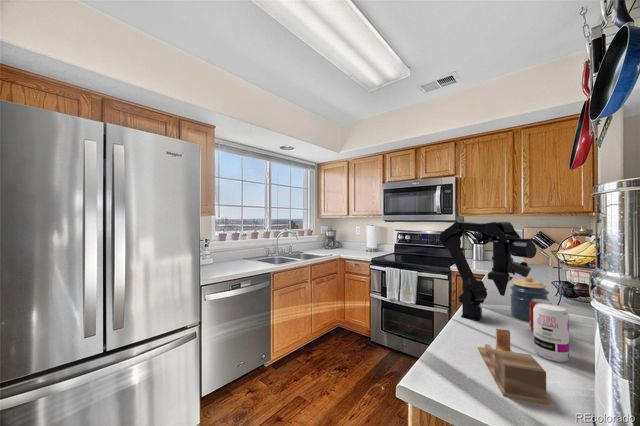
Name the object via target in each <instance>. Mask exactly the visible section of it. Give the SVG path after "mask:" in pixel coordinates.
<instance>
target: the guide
mask: <svg viewBox="0 0 640 426" xmlns="http://www.w3.org/2000/svg"><path fill="white" fill-rule="evenodd" d="M477 350H478V352H479V354H480V355H481V358H482V359H483V362H484V364H485V365H486V367H487V368H488V370H489V372H490V374H491V376H492V378H493V380H494V381H495V383H496V385H497V387H498V389H499V391H500V393H501V394H502V396H503V397H509V398H513V399H514V398H515V399H520V400H524V401H530V402H534V403H540V404H541V403H542V404H545V405H550V400H549V399H548V397H547V371H546V370H545V369H544V368H543V367H542V365H540V363H539V362H538V361H536V359H535V358H534V357H533V356H532V355H531V354H528V353H521V352H515V351H513V350H512V349H511V348H510V352H509V351H501V350H496V348H492V346H491V345H490V344H484V347H482V346H477Z"/></svg>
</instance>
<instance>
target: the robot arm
mask: <svg viewBox="0 0 640 426" xmlns="http://www.w3.org/2000/svg"><path fill="white" fill-rule="evenodd" d="M465 231H466V232H467V231H468V232H476V233H484V234H486V235H487V236H490V237H489V238H488V239H487V240H486V241H487V242H488V243H492V257H491V260H492V268H491V271H489V272H488V273H487V280H491V281H493V283H494V284H495V287H496V289H497V291H498V294H499V295H500V296H502V297H505V295H506V290H507V287H508V283H509V282H510V281H511V280H512V279H514V277H513V276H511V275H510V274H512V275H514V276H515V275H517V274H518V275H519V276H521V277H523V278H525V277H526V278H527V276H529V274H530V272H531V270H532V268H531V267H530V266H529V265H528V262H527V261H522V262H520V263H519V262H515V261H514V258H513V257H519V258H526V259H533V258H535V257H536V254H537V247H536V245H535V243H534V242H533V238H530V237H529V238H527V237H526V238H522V237H521V236H520V235H519V234H518V232H517V231H516V230H515V229H514V226H513V224H512V223H511V222H509V221H492V222H471V221H470V222H469V221H462V220H460V221H459V220H458V221H455V222H453V224H451V225H450V226H449V227H447V228H445V229H444V230H443V231H442V232H441V233H440V234H439V242H440V243H441V244H442V246H443V247H444V248H445V249H446V250H448V251H449V253H450V255H451V258H452V260H453V263H454V265H455V266H456V269H457V271H458V274H459V276H460V277H461V280H462V288H461V289H462V291H463V292H462V293H461V294H460V295H458V297H457V298H458V302H459V303H462V304H461V305H462V308H461V309H462V311H461V312H462V314H461V318H465V319H469V320H473V321H480V320H481V319H482V318H483V307H482V305H481V304H484V302H485V300H486V299H487V296H488V292H487V290H488V289H487V288H486V286H485V284H484V281H483V280H478V279H477V278H476V277H475V275H474V273H473V271H472V269H471V267H470V265H469V262H468V261H467V259H466V256H465V254H464V252H463V250H462V247H461V246H462V240H461V238H462V237H463V236H464V233H465Z"/></svg>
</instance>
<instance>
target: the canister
mask: <svg viewBox="0 0 640 426" xmlns="http://www.w3.org/2000/svg"><path fill="white" fill-rule="evenodd" d="M511 282H512V284H513V285H511V286H510V287H509V288H510V290H511V293H510V314H511V316H513V317H514V318H517V319H519V320H522V321H527V322H530V316H529V307H530V303H531V301H532V299H543V300H548V301H550V300H549V298H548V297H549V296H548V295H549V294H550V292H549V290H547V289H546V288H547V285H545V284H544V283H542V282H541V281H539V280H535V279H533V277H532V276H530V275H528V276H527V278H526V277H524V279H523V278H518V279H516V280H514V281H511Z"/></svg>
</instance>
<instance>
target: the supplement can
mask: <svg viewBox="0 0 640 426" xmlns="http://www.w3.org/2000/svg"><path fill="white" fill-rule="evenodd" d="M569 317H570V315H569V313H568V311H567V310H566V308H565V307H562V306H560V305H555V304H553V303H552V304H544V303H538V304H536V306H535V307H534V308H533V331H534V332H533V351H534V352H535V353H536V354H537V355H538V356H540V357H541V358H543V359H546V360H548V361H552V362H557V363H565V362H567V361H569V360H570V320H569V319H570V318H569Z"/></svg>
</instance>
